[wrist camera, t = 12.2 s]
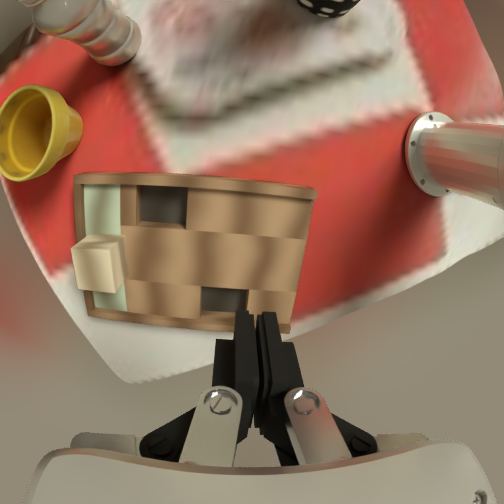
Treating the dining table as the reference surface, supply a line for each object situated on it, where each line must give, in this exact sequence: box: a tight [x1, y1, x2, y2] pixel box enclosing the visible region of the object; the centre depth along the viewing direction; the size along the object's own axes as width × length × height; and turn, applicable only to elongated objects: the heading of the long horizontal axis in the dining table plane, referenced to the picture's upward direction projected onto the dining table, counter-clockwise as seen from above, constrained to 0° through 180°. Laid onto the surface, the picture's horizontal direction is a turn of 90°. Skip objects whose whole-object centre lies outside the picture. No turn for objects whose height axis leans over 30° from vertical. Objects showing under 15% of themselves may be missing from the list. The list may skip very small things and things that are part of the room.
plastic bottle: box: [18, 0, 142, 66], centre depth 15 cm, size 6×7×20 cm
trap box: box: [74, 172, 318, 334], centre depth 33 cm, size 28×19×3 cm
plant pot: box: [0, 84, 83, 182], centre depth 22 cm, size 10×10×10 cm
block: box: [71, 234, 129, 293], centre depth 29 cm, size 5×5×5 cm
